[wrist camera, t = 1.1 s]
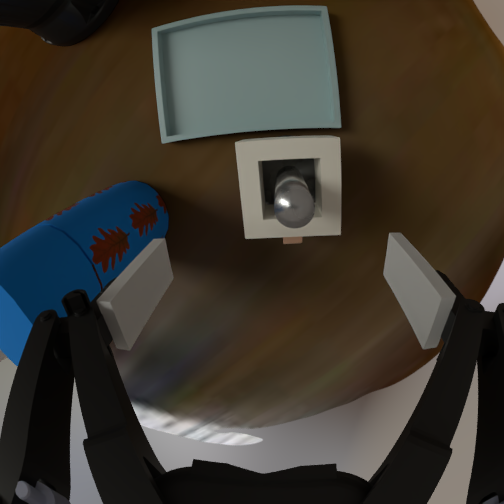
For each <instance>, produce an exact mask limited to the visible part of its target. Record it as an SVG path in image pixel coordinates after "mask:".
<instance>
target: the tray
mask: <svg viewBox="0 0 504 504" xmlns="http://www.w3.org/2000/svg"><path fill="white" fill-rule="evenodd" d="M152 45H153V62H154V75H155V87H156V97H157V107H158V116H159V125H160V133H161V140H162V143H168V142H173V141H179V140H185V139H191V138H198V137H205V136H212V135H220V134H229V133H238V132H249V131H261V130H275V129H295V128H341V115H340V102H339V91H338V81H337V71H336V63H335V55H334V48H333V41H332V34H331V28H330V22H329V16H328V11H327V6H271V7H258V8H248V9H239V10H232V11H225V12H219V13H213V14H208V15H203V16H198V17H193V18H189V19H185V20H180V21H176V22H173V23H169V24H165V25H162V26H158V27H155V28H152Z"/></svg>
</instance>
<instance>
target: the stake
mask: <svg viewBox="0 0 504 504" xmlns="http://www.w3.org/2000/svg"><path fill="white" fill-rule="evenodd" d="M279 137H289V136H288V135H285V136H279ZM262 169H263V180H264V192H265V203H266V204H268V205H271V204H274V213H275V216H276V218H277V220H278V221H279V222H280V223H281V224H282V225H284V226H286V227H288V228H301V227H303V226H305V225H307V224H308V223H309V222H310V221H311V220H312V218H313V216H314V214H315V203H314V200H315V170H314V158H305V159H282V160H265V161H262Z"/></svg>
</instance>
